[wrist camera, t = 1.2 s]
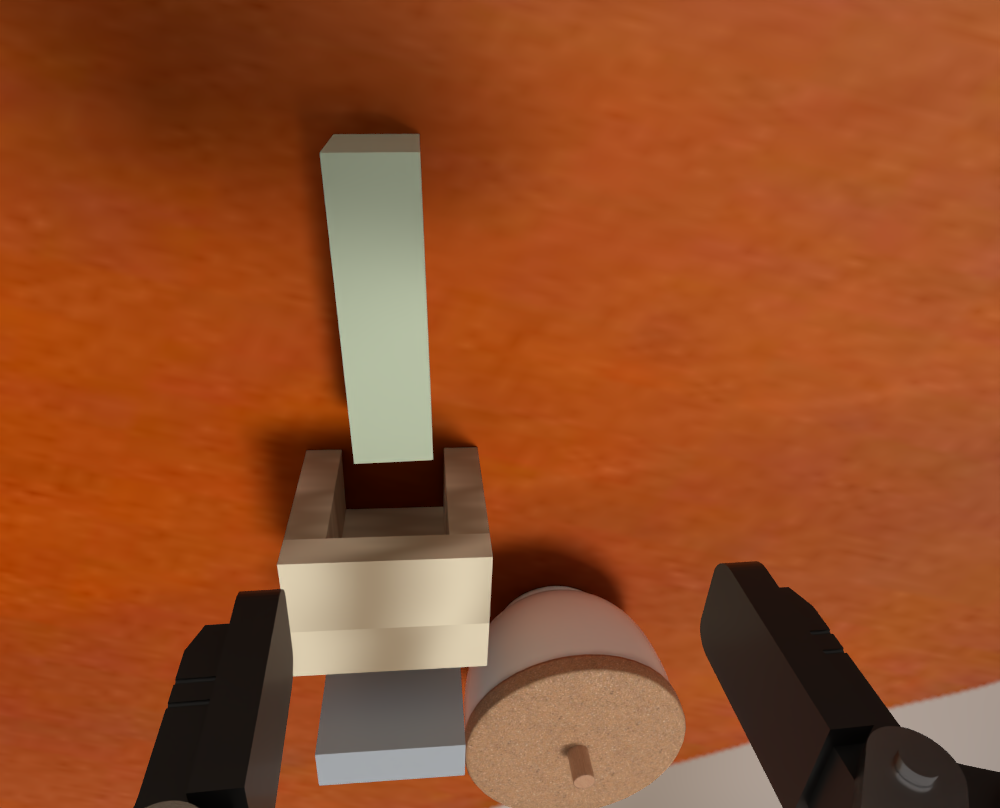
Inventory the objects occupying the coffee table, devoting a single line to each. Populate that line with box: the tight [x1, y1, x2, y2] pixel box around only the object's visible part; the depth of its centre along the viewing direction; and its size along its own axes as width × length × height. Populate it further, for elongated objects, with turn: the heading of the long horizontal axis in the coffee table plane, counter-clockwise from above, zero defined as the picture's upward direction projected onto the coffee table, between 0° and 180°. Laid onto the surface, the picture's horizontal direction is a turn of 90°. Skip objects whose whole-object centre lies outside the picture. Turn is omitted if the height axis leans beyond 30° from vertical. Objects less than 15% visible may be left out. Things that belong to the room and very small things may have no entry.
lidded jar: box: [464, 586, 686, 808], centre depth 35 cm, size 11×11×9 cm
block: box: [277, 447, 493, 676], centre depth 31 cm, size 8×6×8 cm
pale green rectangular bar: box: [320, 134, 433, 464], centre depth 27 cm, size 3×12×4 cm, turn 179°
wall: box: [315, 667, 466, 785], centre depth 33 cm, size 6×2×10 cm, turn 87°
